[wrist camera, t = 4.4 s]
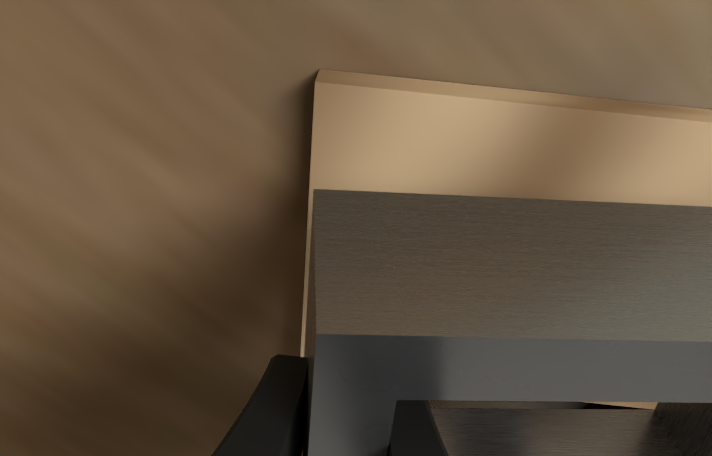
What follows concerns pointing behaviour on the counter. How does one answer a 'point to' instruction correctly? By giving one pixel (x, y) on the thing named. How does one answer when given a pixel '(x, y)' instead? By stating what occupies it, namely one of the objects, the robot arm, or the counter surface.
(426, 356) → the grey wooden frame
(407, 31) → the counter surface
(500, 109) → the board
